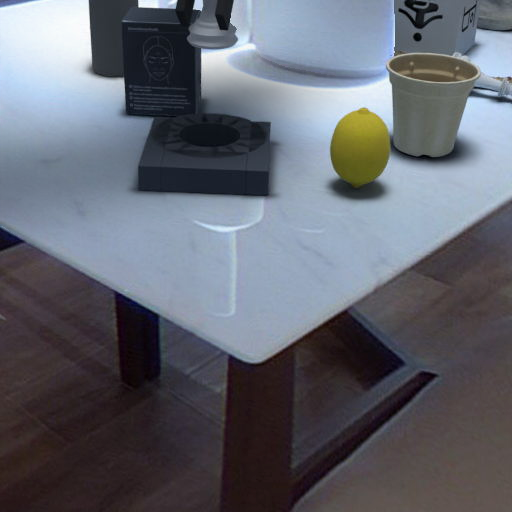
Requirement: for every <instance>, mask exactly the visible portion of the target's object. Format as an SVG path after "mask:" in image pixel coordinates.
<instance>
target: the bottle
mask: <svg viewBox="0 0 512 512" xmlns="http://www.w3.org/2000/svg"><path fill="white" fill-rule="evenodd" d="M131 7H140V6H139V0H88V15H89V17H88V18H89V34H90V50H91V51H90V52H91V65H92V70H93V72H94V73H96V74H98V75H101V76H106V77H124V66H123V46H122V23H121V22H122V20H123V18H124V17H125V16H126V14H127V13H128V11H129V10H130V9H131Z"/></svg>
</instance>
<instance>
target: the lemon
mask: <svg viewBox="0 0 512 512" xmlns="http://www.w3.org/2000/svg"><path fill="white" fill-rule="evenodd" d="M390 138H391V137H390V133H389V129H388V126H387V125H386V122H385V121H384V120H383V119H382V117H380V116H379V115H378V114H377V113H376V112H372V111H371V110H370V109H369V108H367V107H360V108H359V109H357V110H352V111H351V112H348V113H346V114H345V115H343V117H341V118H340V119H339V121H337V123H336V125H335V127H334V130H333V133H332V136H331V141H330V146H329V156H330V162H331V165H332V168H333V170H334V171H335V173H336V174H337V175H338V177H339V178H340V179H342V180H343V181H345V182H346V183H349V184H350V185H351V186H352V187H353V188H356V189H359V188H361V187H362V186H363V185H365V184H369V183H372V182H374V181H375V180H377V179H378V178H379V177H380V176H381V175H382V174H383V173H384V171H385V169H386V167H387V165H388V162H389V160H390V155H391V139H390Z"/></svg>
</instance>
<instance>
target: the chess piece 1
mask: <svg viewBox="0 0 512 512" xmlns="http://www.w3.org/2000/svg"><path fill="white" fill-rule="evenodd" d="M216 5H217V0H202V8H201V9H202V11H201V14H200V17H199V18H198V19H197V20H196V22H195V23H194V24H192V25H191V26H190V27H189V31H190V35H189V36H188V37H187V40H188V41H189V43H190V44H191V45H192V46H194V47H197V48H201V50H213V51H214V50H215V51H216V50H226V49H229V48H232V47H234V46H235V45H236V44H237V42H238V41H239V38H238V36H237V35H236V32H237V31H236V30H237V28H236V27H235V26H233V25H232V24H231V23H229V28H228V31H226V30H220V29H219V26H218V23H217V20H216V17H215V10H216Z"/></svg>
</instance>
